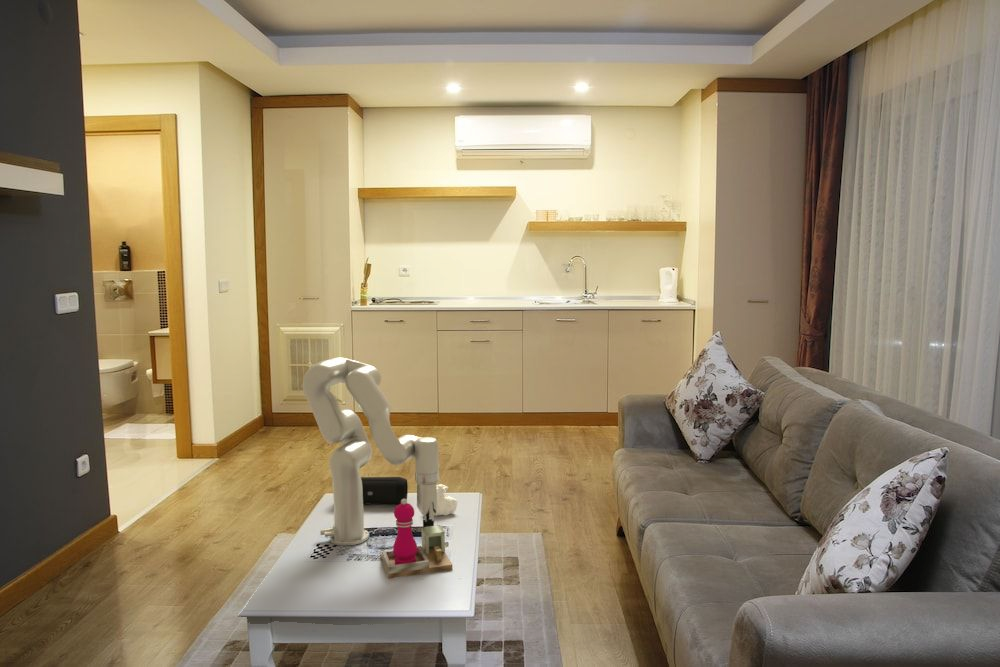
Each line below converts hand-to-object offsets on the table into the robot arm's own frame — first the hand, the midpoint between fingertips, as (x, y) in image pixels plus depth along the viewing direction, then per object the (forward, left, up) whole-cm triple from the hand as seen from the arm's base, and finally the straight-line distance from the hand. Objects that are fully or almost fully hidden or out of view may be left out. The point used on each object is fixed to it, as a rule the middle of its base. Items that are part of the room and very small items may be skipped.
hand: (428, 531), depth 229 cm
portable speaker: (-12, +47, -5) cm, 48 cm away
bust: (+10, +28, -5) cm, 30 cm away
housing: (0, -7, -3) cm, 7 cm away
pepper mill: (-10, -14, -3) cm, 18 cm away
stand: (-7, -11, -5) cm, 14 cm away
